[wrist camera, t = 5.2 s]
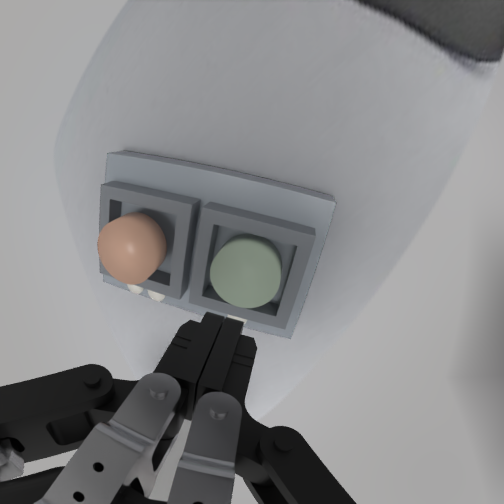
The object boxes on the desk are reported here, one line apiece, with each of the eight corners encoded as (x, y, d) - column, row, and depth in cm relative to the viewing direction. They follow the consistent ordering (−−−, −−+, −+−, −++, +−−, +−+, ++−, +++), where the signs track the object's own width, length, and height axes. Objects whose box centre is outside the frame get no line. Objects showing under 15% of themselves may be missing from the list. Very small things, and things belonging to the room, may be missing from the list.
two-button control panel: (123, 150, 19) (94, 155, 16) (333, 196, 18) (339, 209, 15) (116, 270, 23) (92, 290, 20) (292, 323, 22) (289, 352, 19)
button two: (114, 206, 17) (97, 213, 15) (170, 220, 17) (156, 229, 15) (112, 262, 19) (98, 273, 17) (164, 279, 18) (152, 292, 17)
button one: (223, 226, 18) (215, 236, 16) (289, 243, 17) (288, 255, 16) (213, 283, 19) (205, 297, 18) (273, 300, 19) (270, 315, 17)
